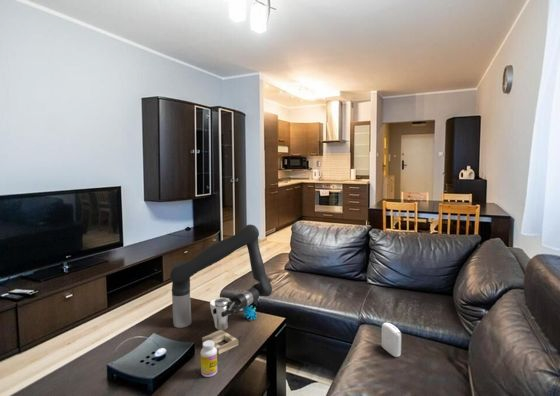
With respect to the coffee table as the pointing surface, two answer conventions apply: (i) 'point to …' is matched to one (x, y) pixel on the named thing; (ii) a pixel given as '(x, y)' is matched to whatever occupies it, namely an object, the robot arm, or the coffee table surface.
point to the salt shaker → (220, 307)
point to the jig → (219, 337)
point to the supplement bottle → (208, 359)
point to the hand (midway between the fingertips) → (217, 313)
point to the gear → (249, 312)
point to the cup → (212, 306)
